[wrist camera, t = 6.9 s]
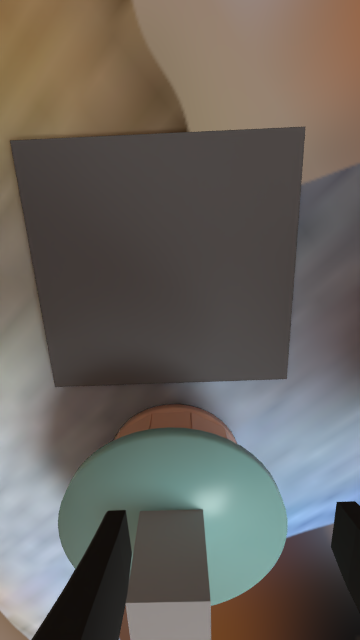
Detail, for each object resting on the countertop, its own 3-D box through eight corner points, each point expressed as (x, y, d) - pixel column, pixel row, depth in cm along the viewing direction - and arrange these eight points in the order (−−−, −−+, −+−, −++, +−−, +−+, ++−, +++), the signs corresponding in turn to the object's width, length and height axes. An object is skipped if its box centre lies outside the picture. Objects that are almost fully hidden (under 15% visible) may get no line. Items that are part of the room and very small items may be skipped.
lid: (290, 424, 14) (341, 509, 10) (275, 592, 18) (308, 713, 13) (46, 430, 15) (-15, 517, 10) (79, 596, 18) (45, 717, 14)
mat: (301, 130, 15) (305, 126, 15) (283, 375, 19) (286, 378, 19) (15, 143, 15) (10, 140, 15) (58, 383, 19) (55, 386, 19)
